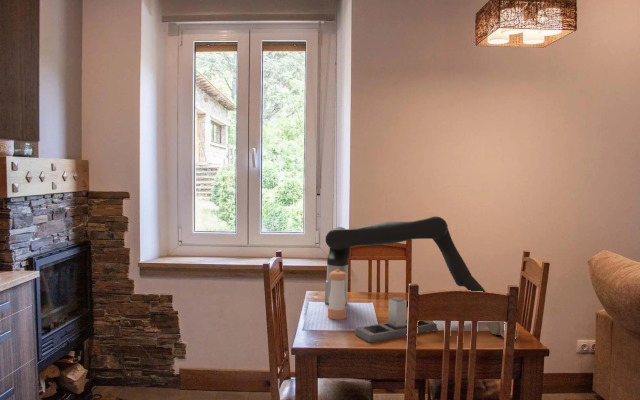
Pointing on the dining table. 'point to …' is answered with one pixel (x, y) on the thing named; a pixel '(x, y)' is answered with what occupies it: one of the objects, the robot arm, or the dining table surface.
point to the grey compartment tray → (389, 331)
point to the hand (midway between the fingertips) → (409, 307)
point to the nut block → (397, 313)
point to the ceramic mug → (498, 328)
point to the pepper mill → (337, 295)
